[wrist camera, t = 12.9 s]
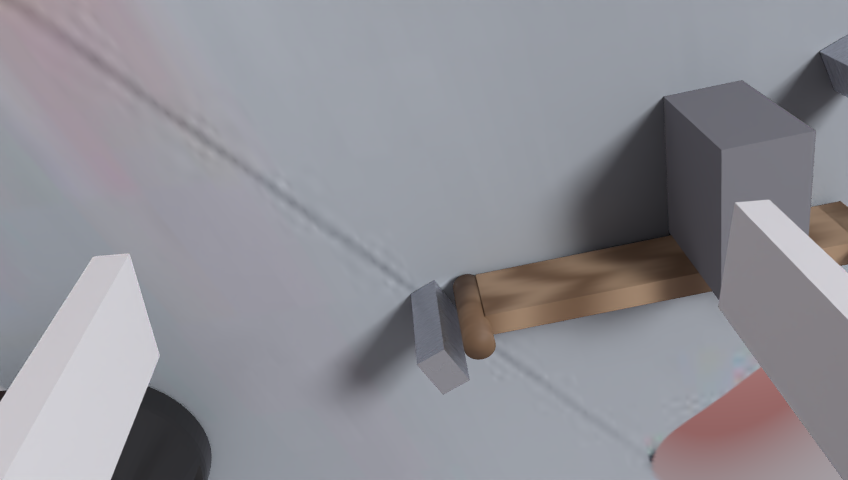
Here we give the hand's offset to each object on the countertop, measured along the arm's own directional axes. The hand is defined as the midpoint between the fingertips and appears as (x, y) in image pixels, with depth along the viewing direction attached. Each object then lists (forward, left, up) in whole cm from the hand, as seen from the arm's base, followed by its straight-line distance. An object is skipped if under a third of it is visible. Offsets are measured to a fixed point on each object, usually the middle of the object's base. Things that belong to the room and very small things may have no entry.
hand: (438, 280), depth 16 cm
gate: (+5, -24, -30) cm, 39 cm away
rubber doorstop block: (+11, -20, -31) cm, 38 cm away
